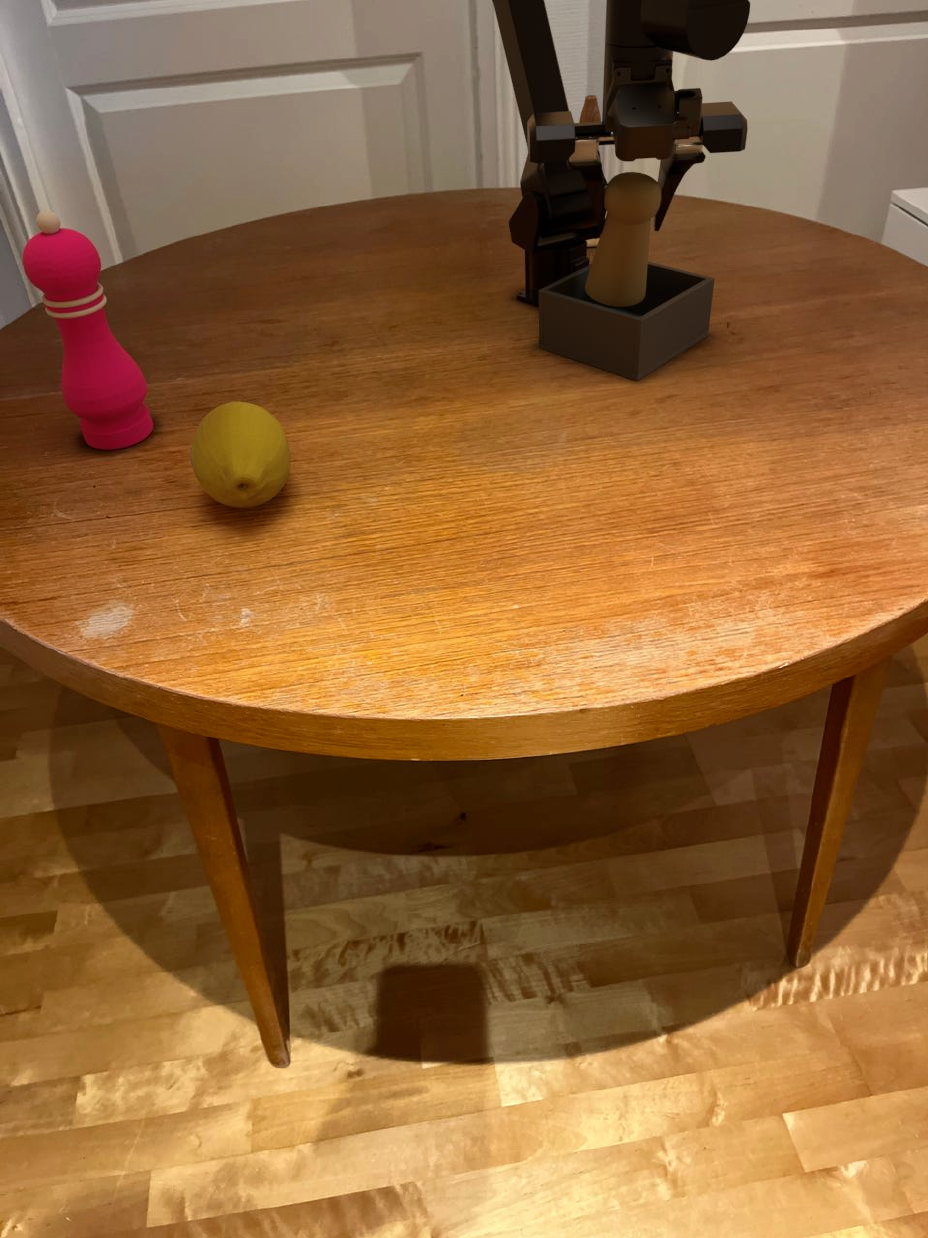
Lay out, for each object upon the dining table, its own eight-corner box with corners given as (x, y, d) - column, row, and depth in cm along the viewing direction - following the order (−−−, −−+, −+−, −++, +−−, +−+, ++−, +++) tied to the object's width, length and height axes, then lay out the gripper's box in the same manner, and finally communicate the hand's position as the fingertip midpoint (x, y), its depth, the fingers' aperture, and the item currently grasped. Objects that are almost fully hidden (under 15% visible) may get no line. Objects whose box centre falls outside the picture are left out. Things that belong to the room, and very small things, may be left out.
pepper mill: (87, 461, 85) (3, 233, 71) (73, 427, 90) (-9, 208, 76) (167, 438, 87) (99, 213, 74) (149, 406, 92) (82, 190, 79)
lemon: (215, 467, 82) (192, 383, 77) (304, 461, 82) (287, 377, 77) (191, 541, 74) (164, 452, 69) (290, 534, 74) (271, 445, 69)
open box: (538, 347, 97) (538, 290, 93) (611, 307, 103) (613, 252, 99) (637, 381, 90) (641, 320, 86) (708, 336, 96) (714, 277, 92)
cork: (651, 281, 95) (675, 171, 86) (638, 312, 91) (662, 199, 83) (593, 268, 96) (611, 158, 87) (577, 298, 92) (595, 185, 84)
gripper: (532, 68, 73) (533, 269, 84) (775, 53, 72) (747, 257, 83) (526, 40, 82) (528, 225, 92) (744, 26, 81) (721, 214, 91)
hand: (628, 231), depth 89 cm, fingers closed on cork, 5 cm apart
